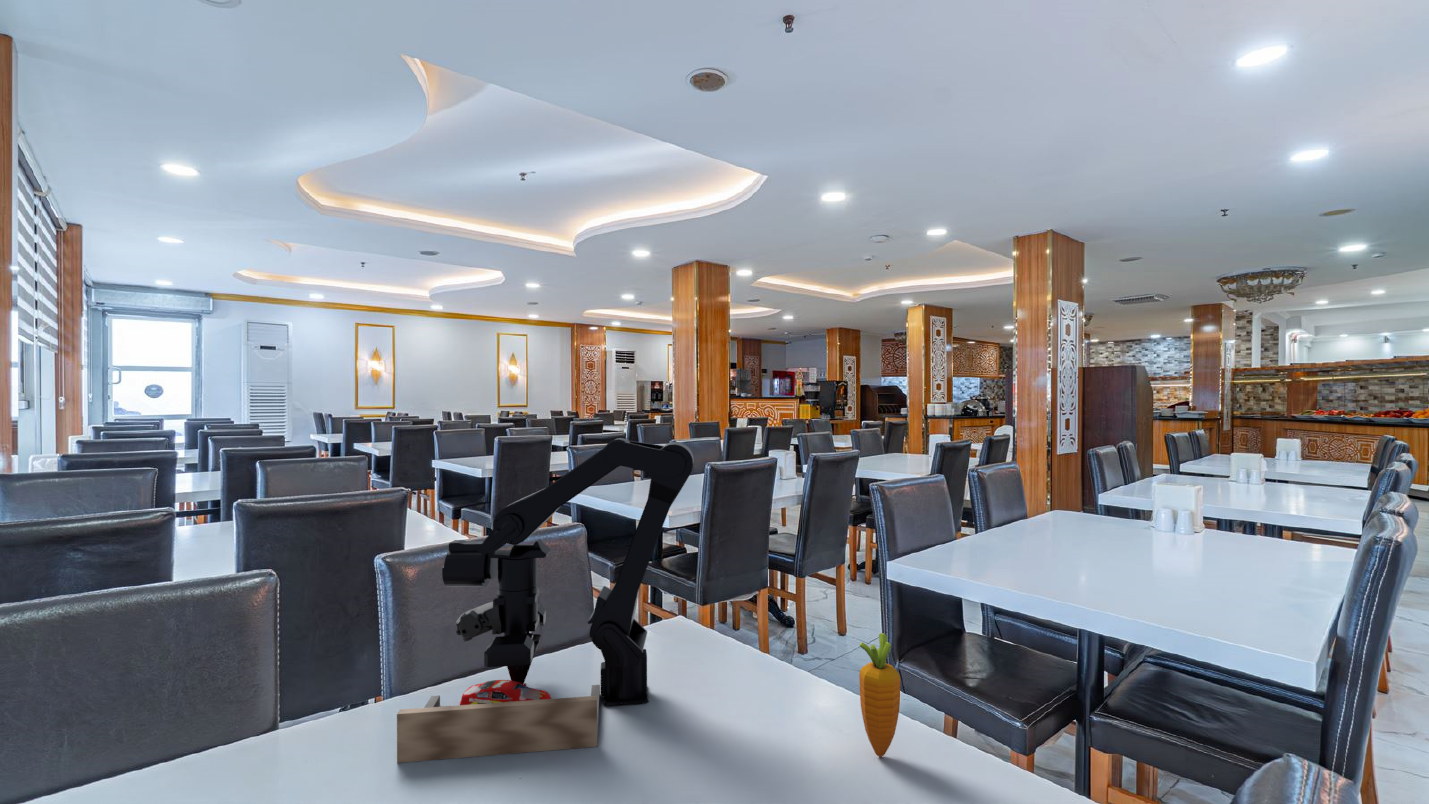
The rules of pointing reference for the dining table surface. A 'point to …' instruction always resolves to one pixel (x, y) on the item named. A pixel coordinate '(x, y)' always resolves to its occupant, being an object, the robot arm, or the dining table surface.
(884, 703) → the carrot
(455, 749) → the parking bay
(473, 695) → the race car
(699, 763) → the dining table surface
